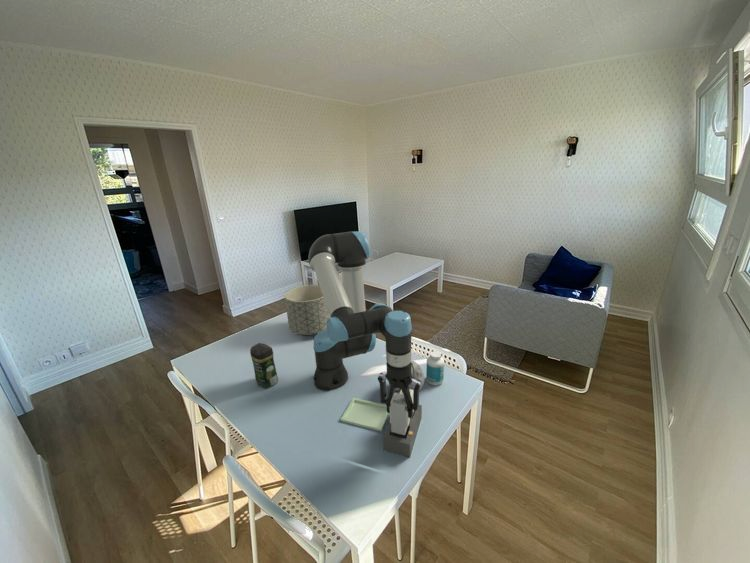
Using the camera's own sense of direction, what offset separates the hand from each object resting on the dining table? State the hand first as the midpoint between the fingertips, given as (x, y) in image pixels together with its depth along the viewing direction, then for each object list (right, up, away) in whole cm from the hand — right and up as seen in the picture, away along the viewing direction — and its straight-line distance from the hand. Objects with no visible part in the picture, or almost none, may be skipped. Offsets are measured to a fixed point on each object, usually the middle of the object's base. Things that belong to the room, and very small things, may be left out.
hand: (399, 421), depth 100 cm
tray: (-11, -5, +16) cm, 20 cm away
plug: (0, -3, +1) cm, 3 cm away
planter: (-46, +17, +82) cm, 95 cm away
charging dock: (+2, -8, +7) cm, 11 cm away
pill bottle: (+18, +2, +34) cm, 38 cm away
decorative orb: (+5, 0, +27) cm, 28 cm away
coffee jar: (-57, +1, +37) cm, 68 cm away
